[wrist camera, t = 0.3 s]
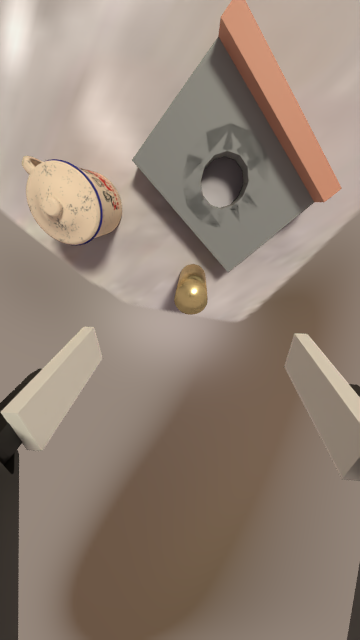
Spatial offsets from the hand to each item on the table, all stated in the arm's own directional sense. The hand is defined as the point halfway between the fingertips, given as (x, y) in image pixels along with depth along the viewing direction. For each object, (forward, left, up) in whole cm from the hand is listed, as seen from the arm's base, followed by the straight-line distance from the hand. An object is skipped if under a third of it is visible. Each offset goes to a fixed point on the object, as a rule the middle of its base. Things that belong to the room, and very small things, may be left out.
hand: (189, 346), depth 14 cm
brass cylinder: (+2, -2, -25) cm, 25 cm away
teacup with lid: (-18, -6, -25) cm, 31 cm away
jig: (-5, +10, -25) cm, 27 cm away
